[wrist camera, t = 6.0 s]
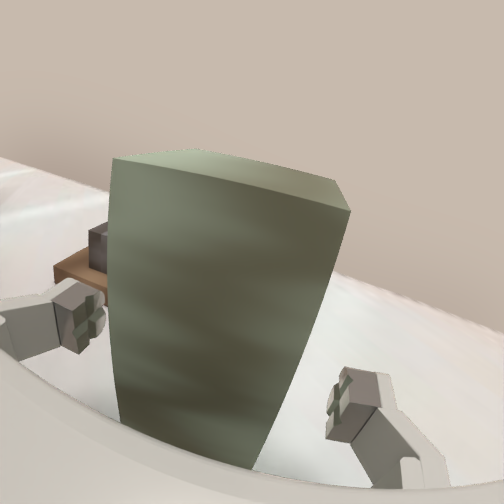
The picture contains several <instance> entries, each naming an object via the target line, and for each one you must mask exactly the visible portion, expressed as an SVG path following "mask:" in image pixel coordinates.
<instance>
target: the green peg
mask: <svg viewBox="0 0 504 504" xmlns="http://www.w3.org/2000/svg"><path fill="white" fill-rule="evenodd" d="M350 213H351V210H350V208H349V206H348V204H347V202H346V201H345V199H344V197H343V195H342V193H341V191H340V189H339V187H338V185H337V184H336V181H335V180H332V179H328V178H325V177H321V176H317V175H313V174H309V173H305V172H302V171H298V170H293V169H290V168H286V167H281V166H277V165H273V164H269V163H264V162H260V161H255V160H250V159H246V158H241V157H236V156H231V155H226V154H221V153H216V152H211V151H205V150H200V149H187V150H176V151H166V152H157V153H148V154H140V155H132V156H125V157H118V158H113V162H112V172H111V184H110V196H109V211H108V235H107V293H108V316H109V331H110V344H111V355H112V364H113V373H114V381H115V388H116V396H117V402H118V408H119V414H120V420H121V424H123V425H126V426H128V427H130V428H132V429H134V430H136V431H139V432H141V433H143V434H145V435H148V436H150V437H152V438H155V439H157V440H160V441H162V442H165V443H167V444H170V445H172V446H175V447H178V448H180V449H183V450H186V451H189V452H192V453H194V454H197V455H200V456H203V457H206V458H210V459H213V460H216V461H219V462H223V463H226V464H230V465H233V466H237V467H241V468H244V469H248V470H252V468H253V466H254V464H255V462H256V460H257V458H258V455H259V453H260V451H261V449H262V447H263V445H264V443H265V441H266V439H267V436H268V434H269V432H270V430H271V428H272V426H273V423H274V421H275V419H276V417H277V414H278V412H279V410H280V408H281V405H282V403H283V401H284V398H285V396H286V394H287V391H288V389H289V386H290V384H291V382H292V379H293V377H294V374H295V372H296V369H297V367H298V364H299V362H300V359H301V357H302V354H303V352H304V349H305V347H306V344H307V341H308V339H309V336H310V334H311V331H312V328H313V325H314V323H315V320H316V317H317V315H318V312H319V309H320V306H321V303H322V301H323V298H324V295H325V292H326V289H327V286H328V283H329V280H330V277H331V274H332V271H333V268H334V265H335V262H336V259H337V256H338V253H339V249H340V246H341V243H342V240H343V236H344V233H345V230H346V226H347V223H348V220H349V216H350Z"/></svg>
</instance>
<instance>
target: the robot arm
mask: <svg viewBox="0 0 504 504" xmlns="http://www.w3.org/2000/svg"><path fill="white" fill-rule="evenodd" d="M104 303H105V296H104V293H103V292H102V291H100V290H98V289H95V288H93V287H91V286H89V285H87V284H84V283H82V282H79V281H77V280H75V279H73V278H66V279H64V280H63V281H61V282H60V283H58V284H57V285H55V286H54V287H52V288H50V289H49V290H47V291H46V292H44V293H43V294H41V295H39V294H33V295H27V296H20V297H14V298H8V299H1V300H0V504H504V479H503V480H498V481H493V482H487V483H481V484H474V485H466V486H457V487H451V485H450V480H449V475H448V470H447V465H446V461H445V457H444V456H443V455H442V454H441V453H440V452H439V450H438V449H437V448H436V447H435V446H434V445H433V444H432V443H431V442H430V441H429V440H428V439H427V438H426V436H425V435H424V434H423V433H422V432H421V431H420V430H419V429H418V428H417V427H416V426H415V425H414V424H413V422H412V421H411V420H410V419H409V418H408V417H407V416H406V415H405V414H404V413H403V412H402V411H400V410H397V405H396V400H395V395H394V391H393V386H392V382H391V377H390V375H389V374H385V373H378V372H370V371H365V370H360V369H355V368H350V367H344V368H343V369H342V371H341V373H340V375H339V383H337V384H336V385H334V386H333V388H332V390H331V392H330V395H329V398H328V402H327V412H326V413H327V414H328V415H329V419H328V421H327V422H326V437H325V439H328V440H333V441H338V442H344V443H350V445H351V447H352V449H353V451H354V452H355V454H356V456H357V458H358V459H359V461H360V463H361V465H362V466H363V468H364V470H365V471H366V473H367V475H368V477H369V478H370V480H371V482H372V484H373V486H372V487H371V488H358V487H346V486H337V485H328V484H320V483H313V482H307V481H301V480H295V479H289V478H284V477H279V476H274V475H270V474H265V473H261V472H256V471H252V470H248V469H244V468H241V467H237V466H233V465H230V464H226V463H223V462H219V461H216V460H213V459H210V458H206V457H203V456H200V455H197V454H194V453H192V452H189V451H186V450H183V449H180V448H178V447H175V446H172V445H170V444H167V443H165V442H162V441H160V440H157V439H155V438H152V437H150V436H148V435H145V434H143V433H141V432H139V431H136V430H134V429H132V428H130V427H128V426H126V425H123V424H121V423H119V422H117V421H115V420H113V419H111V418H109V417H107V416H105V415H103V414H101V413H100V412H98V411H96V410H94V409H92V408H90V407H88V406H87V405H85V404H83V403H81V402H79V401H78V400H76V399H74V398H73V397H71V396H69V395H67V394H66V393H64V392H63V391H61V390H59V389H58V388H56V387H55V386H53V385H51V384H50V383H48V382H47V381H45V380H44V379H42V378H41V377H39V376H38V375H36V374H35V373H33V372H32V371H30V370H29V369H28V368H26V367H25V366H23V365H22V364H21V363H19V361H22V360H25V359H28V358H30V357H33V356H36V355H39V354H41V353H44V352H47V351H50V350H52V349H55V348H58V347H60V345H61V346H63V347H65V348H67V349H68V350H70V351H72V352H74V353H76V354H78V355H79V354H80V353H81V352H82V351H83V350H84V349H85V348H86V347H87V346H88V345H89V344H90V339H92V338H96V337H97V336H98V335H99V334H100V333H101V332H102V330H103V328H104V326H105V321H106V313H105V311H104V310H103V308H102V306H103V304H104Z"/></svg>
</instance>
